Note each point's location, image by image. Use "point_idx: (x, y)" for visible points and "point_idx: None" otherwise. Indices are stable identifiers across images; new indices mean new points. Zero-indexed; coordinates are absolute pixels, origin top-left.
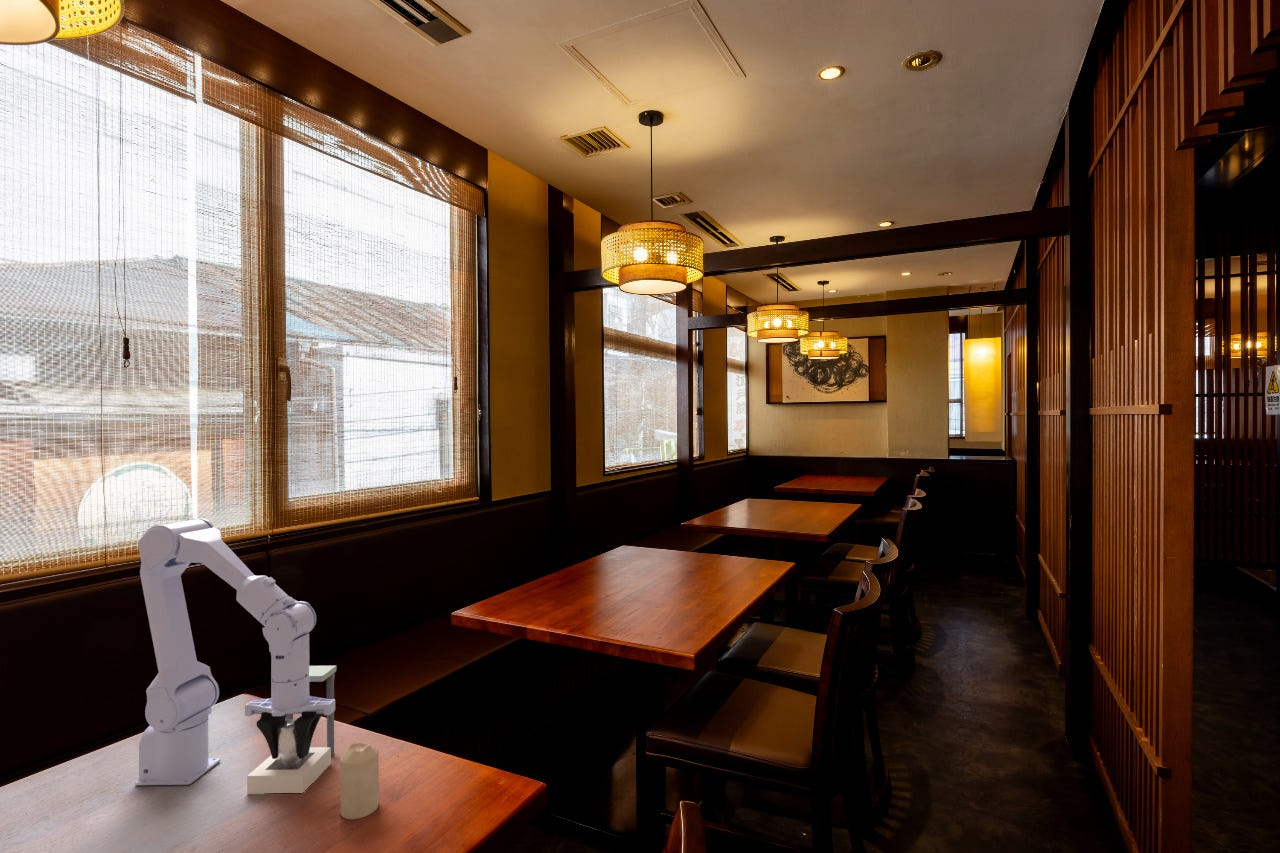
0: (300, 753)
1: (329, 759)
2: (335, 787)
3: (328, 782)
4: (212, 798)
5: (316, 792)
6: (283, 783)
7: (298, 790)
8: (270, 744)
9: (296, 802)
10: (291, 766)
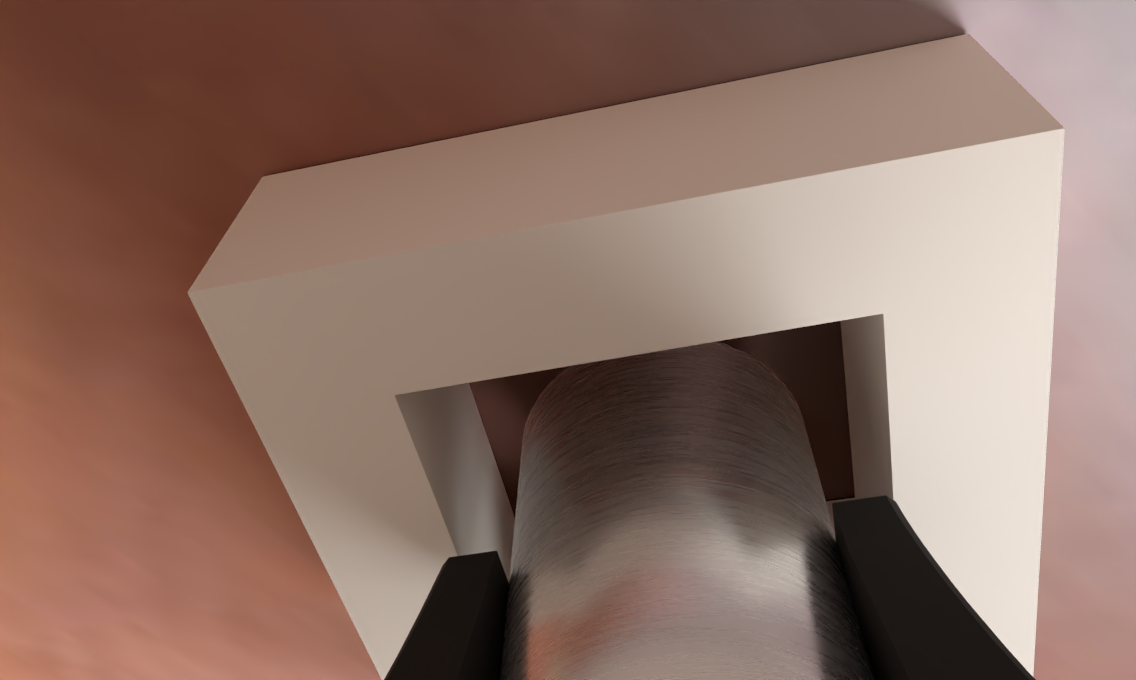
0: (442, 604)
1: None
2: (31, 339)
3: (193, 398)
4: None
5: (138, 228)
6: (482, 188)
7: (300, 181)
8: (962, 663)
9: (170, 5)
10: (559, 441)
